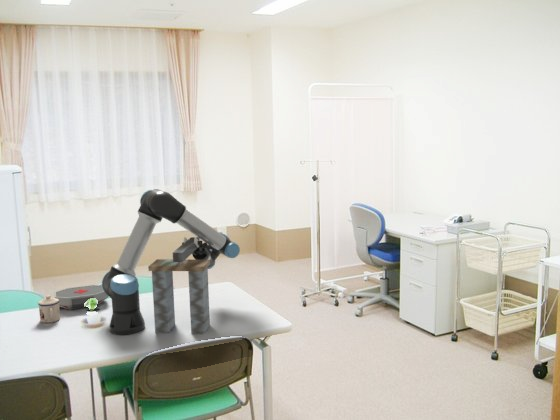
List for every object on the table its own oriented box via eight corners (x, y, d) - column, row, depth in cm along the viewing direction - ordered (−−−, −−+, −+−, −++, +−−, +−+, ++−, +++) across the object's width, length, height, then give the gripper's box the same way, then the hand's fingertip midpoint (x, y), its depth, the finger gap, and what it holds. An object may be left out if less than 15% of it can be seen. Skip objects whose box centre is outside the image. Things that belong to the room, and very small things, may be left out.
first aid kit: (106, 297, 286) (55, 303, 276) (105, 283, 285) (54, 289, 275) (109, 306, 270) (56, 314, 260) (108, 292, 269) (54, 299, 259)
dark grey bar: (173, 262, 221) (172, 252, 220) (191, 245, 250) (190, 237, 250) (182, 262, 220) (182, 252, 220) (199, 245, 250) (199, 237, 249)
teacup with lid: (38, 318, 255) (36, 295, 253) (59, 315, 259) (57, 291, 258) (41, 326, 245) (39, 302, 243) (63, 322, 249) (61, 298, 247)
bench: (152, 333, 234) (148, 265, 230) (160, 323, 246) (157, 258, 241) (206, 334, 232) (203, 266, 227) (212, 324, 244) (209, 258, 239)
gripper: (185, 247, 264) (171, 232, 242) (219, 247, 262) (209, 232, 240) (183, 262, 261) (170, 248, 239) (218, 262, 260) (208, 248, 238)
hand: (189, 240), depth 240 cm, fingers closed on dark grey bar, 4 cm apart
